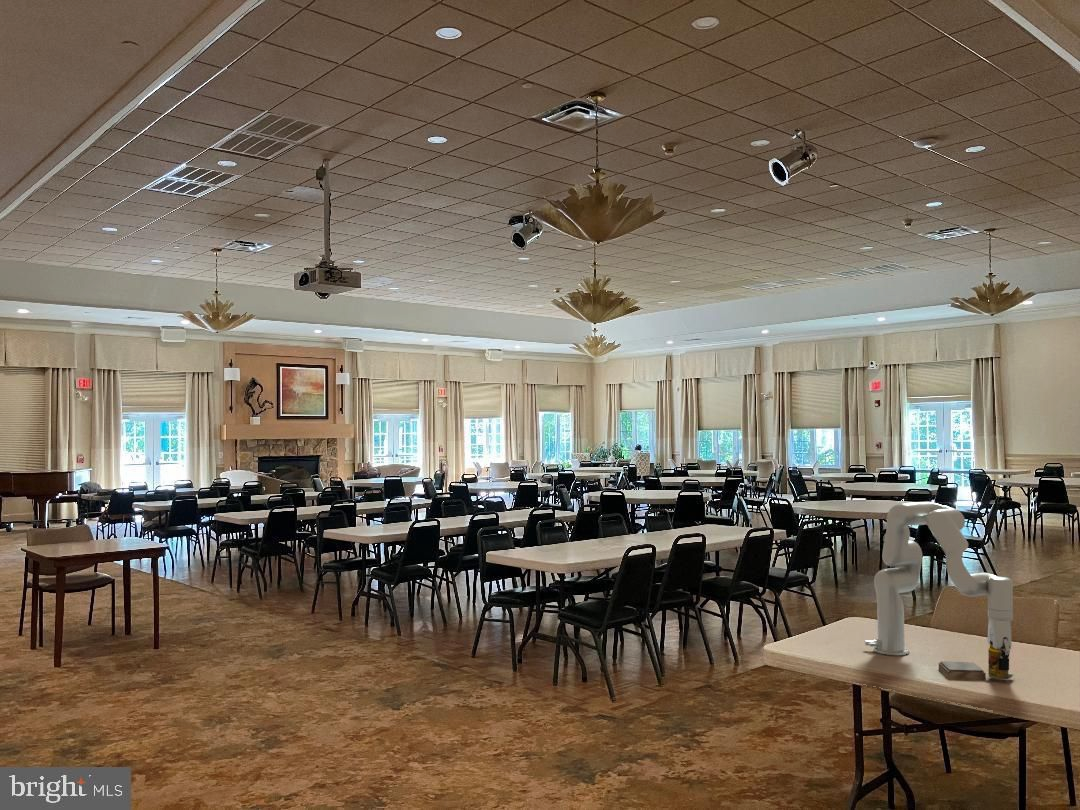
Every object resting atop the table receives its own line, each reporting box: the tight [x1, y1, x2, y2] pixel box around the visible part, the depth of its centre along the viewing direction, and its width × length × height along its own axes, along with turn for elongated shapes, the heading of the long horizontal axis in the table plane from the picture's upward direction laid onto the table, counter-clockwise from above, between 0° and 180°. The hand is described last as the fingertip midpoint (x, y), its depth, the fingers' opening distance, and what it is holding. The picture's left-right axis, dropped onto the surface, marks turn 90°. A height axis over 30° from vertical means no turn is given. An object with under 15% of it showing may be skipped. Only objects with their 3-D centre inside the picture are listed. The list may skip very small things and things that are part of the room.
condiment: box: [986, 640, 1014, 681], centre depth 307 cm, size 7×8×12 cm
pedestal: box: [938, 661, 987, 681], centre depth 314 cm, size 12×12×3 cm
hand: (1000, 666), depth 306 cm, fingers closed on condiment, 6 cm apart
